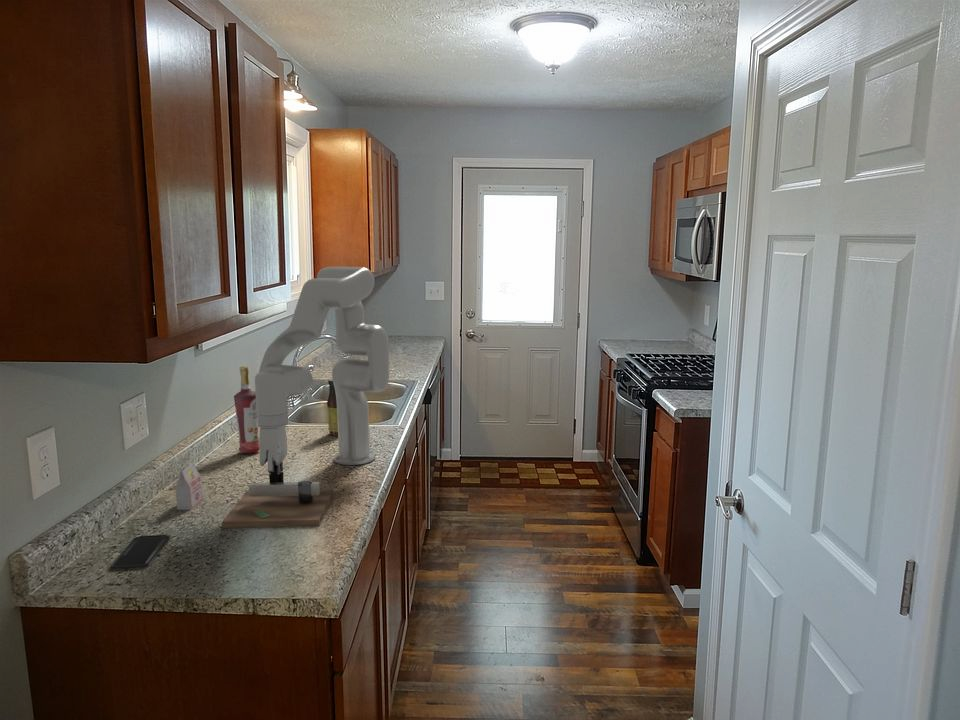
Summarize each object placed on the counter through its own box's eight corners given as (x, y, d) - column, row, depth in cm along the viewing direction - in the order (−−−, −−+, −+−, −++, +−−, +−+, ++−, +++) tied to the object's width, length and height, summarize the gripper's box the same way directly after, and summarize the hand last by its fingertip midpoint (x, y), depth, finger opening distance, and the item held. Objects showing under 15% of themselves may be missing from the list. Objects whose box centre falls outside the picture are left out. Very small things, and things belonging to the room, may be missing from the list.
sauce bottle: (339, 430, 244) (336, 376, 240) (350, 433, 240) (348, 378, 236) (324, 434, 239) (321, 379, 235) (336, 437, 235) (333, 381, 231)
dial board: (248, 494, 183) (247, 488, 183) (334, 493, 184) (334, 487, 184) (222, 527, 163) (221, 521, 162) (319, 525, 163) (318, 518, 163)
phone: (170, 534, 157) (147, 564, 143) (171, 538, 158) (147, 569, 143) (135, 536, 157) (107, 567, 142) (135, 541, 157) (108, 572, 142)
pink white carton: (177, 509, 174) (173, 472, 172) (189, 499, 180) (186, 463, 179) (191, 509, 174) (188, 472, 172) (203, 499, 180) (200, 463, 178)
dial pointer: (321, 497, 176) (320, 480, 175) (318, 502, 173) (317, 485, 172) (252, 498, 175) (251, 481, 175) (248, 504, 172) (247, 486, 171)
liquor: (251, 456, 215) (245, 370, 210) (233, 454, 218) (226, 368, 213) (266, 450, 222) (261, 365, 217) (248, 447, 224) (242, 364, 219)
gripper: (266, 412, 181) (270, 477, 184) (249, 427, 166) (254, 498, 169) (294, 411, 181) (298, 477, 184) (280, 427, 166) (284, 498, 170)
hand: (277, 487), depth 177 cm, fingers closed
